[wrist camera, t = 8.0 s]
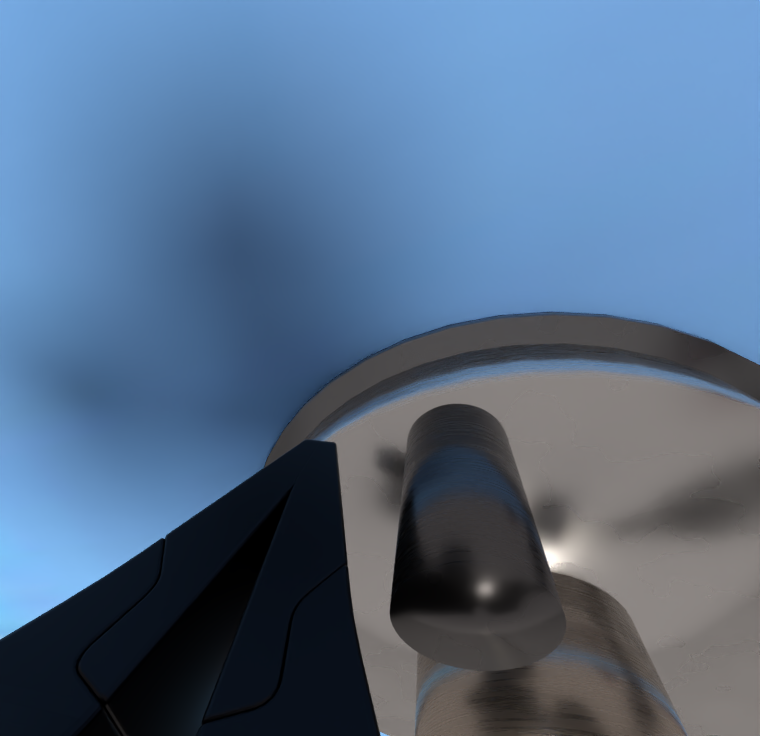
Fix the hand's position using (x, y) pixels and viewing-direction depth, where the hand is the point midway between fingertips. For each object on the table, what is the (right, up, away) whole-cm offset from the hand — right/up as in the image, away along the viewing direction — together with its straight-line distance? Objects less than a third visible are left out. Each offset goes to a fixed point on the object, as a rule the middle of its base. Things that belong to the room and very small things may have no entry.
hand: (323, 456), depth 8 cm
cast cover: (+6, -7, +3) cm, 9 cm away
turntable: (+6, -6, +6) cm, 10 cm away
